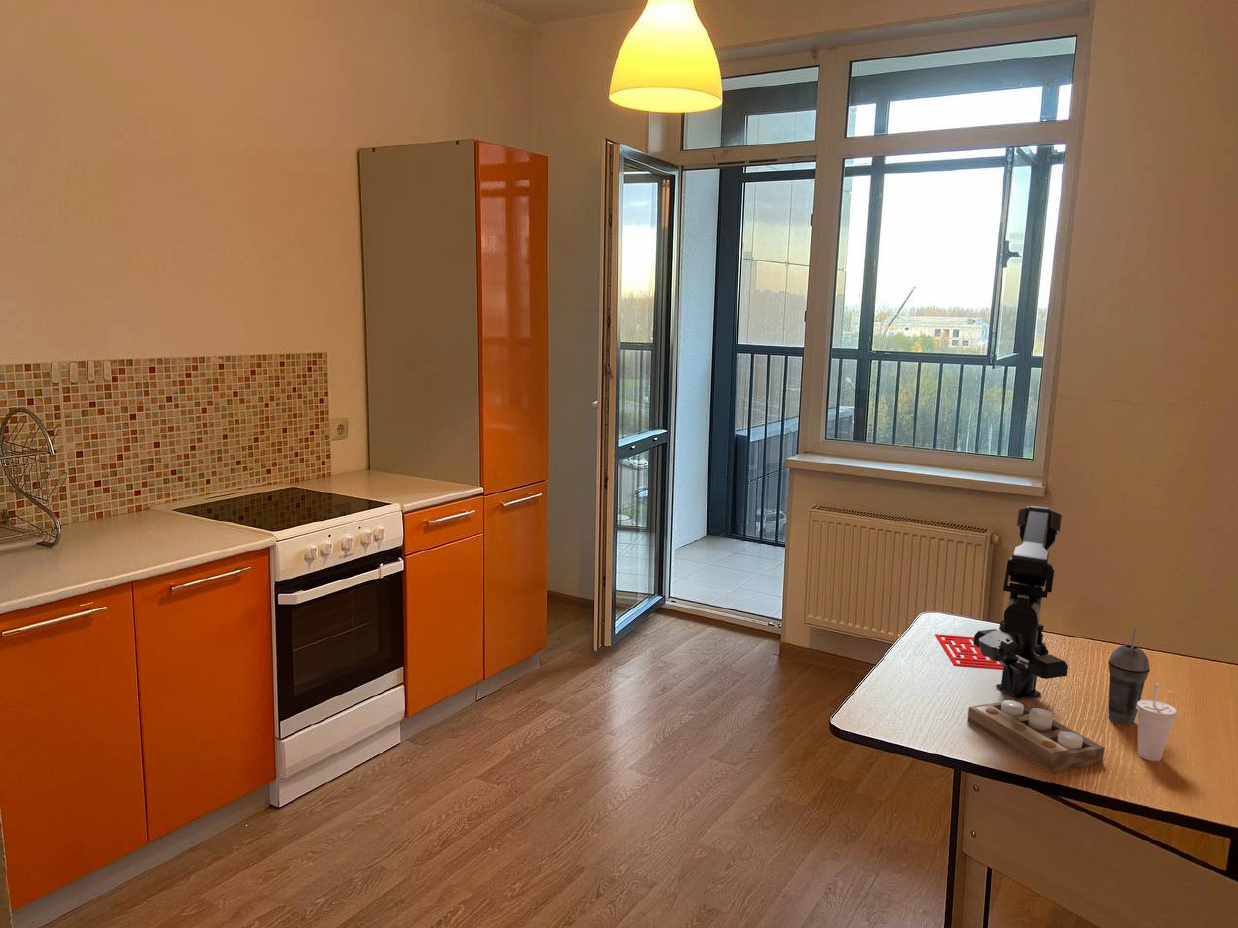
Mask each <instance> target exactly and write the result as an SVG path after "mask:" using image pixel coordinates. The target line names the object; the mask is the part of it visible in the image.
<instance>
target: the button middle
mask: <svg viewBox="0 0 1238 928" xmlns="http://www.w3.org/2000/svg"><path fill="white" fill-rule="evenodd" d="M1032 708H1033V709H1030V714H1029V722H1028V726H1029V727H1031V728H1032V729H1034V730H1036V731H1038V732H1048V731H1051V729H1052V721H1053V720H1054V714H1053V713H1052V712H1051V711H1049V710H1047V709H1044V708H1039V707H1035V708H1034V707H1032Z"/></svg>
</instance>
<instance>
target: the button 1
mask: <svg viewBox="0 0 1238 928" xmlns="http://www.w3.org/2000/svg"><path fill="white" fill-rule="evenodd" d="M1012 700H1013V699H1012ZM1012 700H1011V699H1006V700H1005V699H1003V700H1002V701H1001V702H1002V705H1001V711H1003V712H1004V713H1006V714H1008V715H1010V716H1011V717H1013V716H1020V715H1023V710H1024V705H1023V704H1021V703H1019V702H1017V701H1012Z"/></svg>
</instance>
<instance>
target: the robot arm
mask: <svg viewBox="0 0 1238 928" xmlns="http://www.w3.org/2000/svg"><path fill="white" fill-rule="evenodd" d="M1062 517H1063V515H1062V514H1061V513H1058V512H1056V511H1054V509H1053V508H1050V507H1047V506H1045V507H1044V506H1038V505H1027V506H1026V507H1025V508H1021V509H1019V510H1018V515H1017V522H1016V529H1017V530H1019V537H1020V541H1021V544H1019V545H1018V546H1015V547H1014V548H1013V551H1012V554H1011V555H1012V556H1011V557H1008V558H1007V563H1006V568H1005V575H1004V576H1005V577H1004V580H1003V581H1004V582H1003V588H1002V591H1003V592H1008V593H1009V595H1008V601H1007V603H1006V607H1005V610H1004V612H1003V619H1001V622H999V627H998V629H996V628H993V629H983V630H977V632H976V633H975V634H974V636H973V637H974V642H973V644H972V645H976V646H978V647H980V650H981V654H982V655H983V656H987V658H988V659H989V658H991V659H992V660H993V661H997V662H998V663H999V664H1002V665H1003V668H1004V670H1002V674H1001V680H1000V683H997V684H995V685H996V686H995V687H996V688H997V689H998V690H999V689H1000V690H1001V691H1003V692H1004V693H1006V694H1008V695H1011V696H1012V697H1014V698H1015V699H1026V698H1033V697H1038V696H1039V697H1041V695H1042V693H1041V691H1038V690H1036V687H1037V679H1038V677H1039V678H1041V679H1045V680H1048V679H1055V678H1063V677H1068V670H1069V665H1068V663H1067V662H1066V661H1065V660H1064V659H1061V658H1059V657H1057V656H1055V655H1052V654H1049V650H1048V648H1047V646H1046V644H1047V643H1046V642H1043V638H1044V635H1043V631H1044V625H1043V624H1040V620H1041V618H1040V617H1041V609H1042V600H1043V599H1044V598H1046V599H1047V598H1048V593H1052V591H1053V586H1054V585H1053V583H1054V576H1055V569H1054V568H1053V567H1054V566H1053V563H1050V562H1049V557H1050V552H1049V551H1050V550H1051V548H1053V546H1054V545H1055V544H1056V540H1057V535H1061V529H1062V521H1063V520H1062V519H1063V518H1062ZM1008 584H1009V585H1008ZM1044 587H1045V588H1044Z"/></svg>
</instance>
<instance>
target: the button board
mask: <svg viewBox="0 0 1238 928" xmlns="http://www.w3.org/2000/svg"><path fill="white" fill-rule="evenodd" d="M1012 701H1017V702H1019V703H1021V704H1023V705H1024V710H1023V715H1020V716H1013V717H1011V716H1010V715H1008V714H1006V713H1004V712H1003V711H1001V705H1002V701H998V702H993V703H986V704H979V705H973V706H972V705H971V706H969V707H968V712H967V719H966V721H967V722H968V723H969V724H971V725H973V726H975V727H976V728H978V729H980V731H983V732H984V733H986V734H988V735H989V736H991V737H992V738H994V739H996V740H997V741H999V742H1001V743H1002V744H1003V745H1006V746H1007V747H1009V748H1011V749H1012V750H1014V751H1015V752H1016V753H1018V754H1020V755H1022V756H1024V757H1025V758H1027V759H1028V760H1030V761H1031V762H1033V763H1035V764H1036V765H1038V766H1039V767H1041V768H1042V769H1045V770H1046V771H1048V772H1050V773H1053V774H1054V773H1058V772H1063V771H1068V770H1073V769H1078V768H1079V769H1080V768H1085V767H1089V766H1094V765H1099V764H1100V765H1101V764H1103V763H1104V754H1105V747H1104V746H1103V745H1101V744H1098V743H1097V742H1096V741H1093V740H1091V739H1090V738H1087V737H1086V736H1084V735H1083V734H1080V733H1078V732H1077V731H1075V730H1073V729H1071V728H1070V727H1067V726H1066V725H1064V724H1062V723H1060V722H1059V721H1057V720H1055V719H1053V721H1052V729H1051V731H1048V732H1038V731H1036V730H1034V729H1032V728H1031V727H1029V726H1028V722H1029V714H1030V709H1033V708H1034V707H1031V706H1029V705H1028V704H1025V703H1023V702H1022V701H1020V700H1018V699H1012ZM1063 731H1066V732H1072V733H1075V734H1078V735H1080V736H1081V737H1082V738H1083V742H1082V748H1081V749H1076V750H1069V749H1067V748H1065V747H1064V746H1062V745H1060V744H1058V743H1057V741H1058V734H1059V732H1063Z"/></svg>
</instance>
